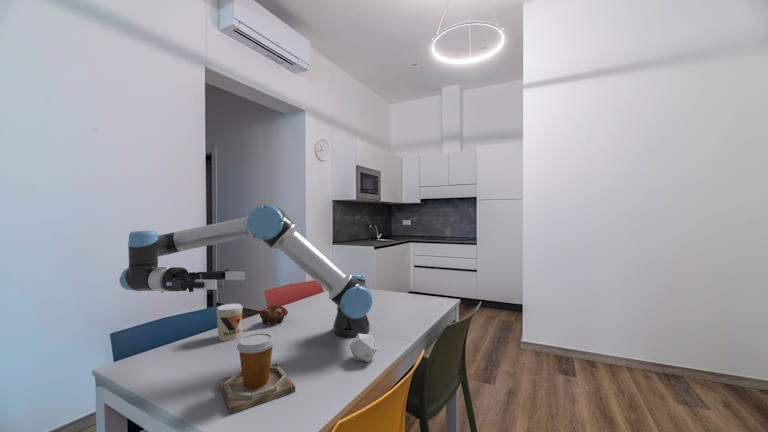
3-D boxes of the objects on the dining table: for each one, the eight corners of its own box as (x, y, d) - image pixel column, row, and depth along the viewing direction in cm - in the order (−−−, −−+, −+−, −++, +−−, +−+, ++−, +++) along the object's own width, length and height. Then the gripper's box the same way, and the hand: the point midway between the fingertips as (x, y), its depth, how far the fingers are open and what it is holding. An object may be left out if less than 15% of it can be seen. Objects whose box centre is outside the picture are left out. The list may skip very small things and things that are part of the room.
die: (359, 370, 95) (377, 343, 96) (340, 351, 99) (358, 326, 100) (368, 368, 102) (385, 343, 103) (350, 350, 106) (367, 327, 107)
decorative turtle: (252, 327, 131) (252, 308, 132) (277, 319, 145) (277, 302, 146) (270, 329, 128) (270, 309, 128) (293, 320, 141) (293, 303, 142)
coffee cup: (219, 343, 114) (219, 311, 114) (213, 336, 121) (213, 306, 121) (245, 337, 120) (245, 306, 120) (238, 330, 127) (238, 302, 127)
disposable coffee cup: (261, 394, 78) (261, 347, 78) (229, 390, 80) (228, 344, 80) (281, 375, 88) (281, 333, 88) (251, 372, 90) (251, 331, 90)
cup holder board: (276, 368, 95) (276, 360, 95) (295, 391, 82) (295, 382, 82) (218, 385, 86) (218, 376, 86) (229, 414, 73) (229, 403, 73)
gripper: (199, 282, 111) (253, 283, 108) (133, 301, 86) (201, 302, 83) (198, 261, 111) (253, 262, 108) (133, 274, 86) (201, 275, 83)
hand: (231, 279), depth 95 cm, fingers open, 13 cm apart
